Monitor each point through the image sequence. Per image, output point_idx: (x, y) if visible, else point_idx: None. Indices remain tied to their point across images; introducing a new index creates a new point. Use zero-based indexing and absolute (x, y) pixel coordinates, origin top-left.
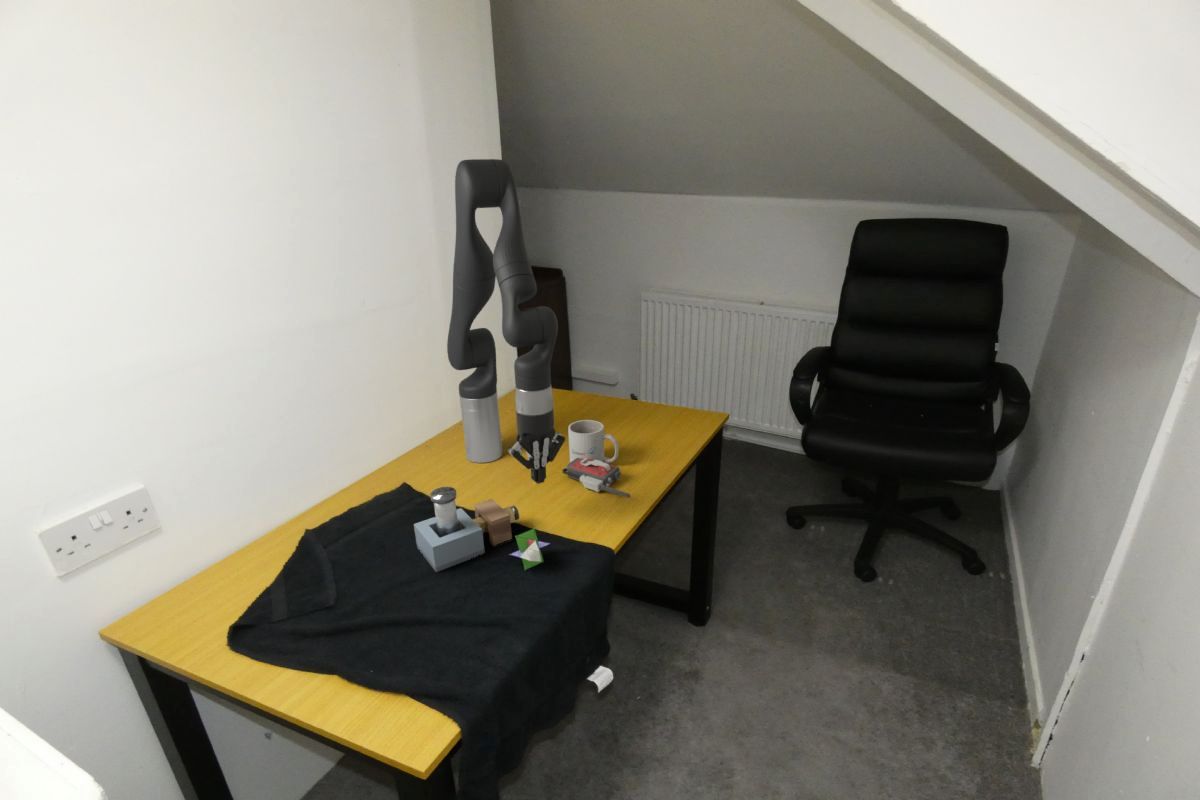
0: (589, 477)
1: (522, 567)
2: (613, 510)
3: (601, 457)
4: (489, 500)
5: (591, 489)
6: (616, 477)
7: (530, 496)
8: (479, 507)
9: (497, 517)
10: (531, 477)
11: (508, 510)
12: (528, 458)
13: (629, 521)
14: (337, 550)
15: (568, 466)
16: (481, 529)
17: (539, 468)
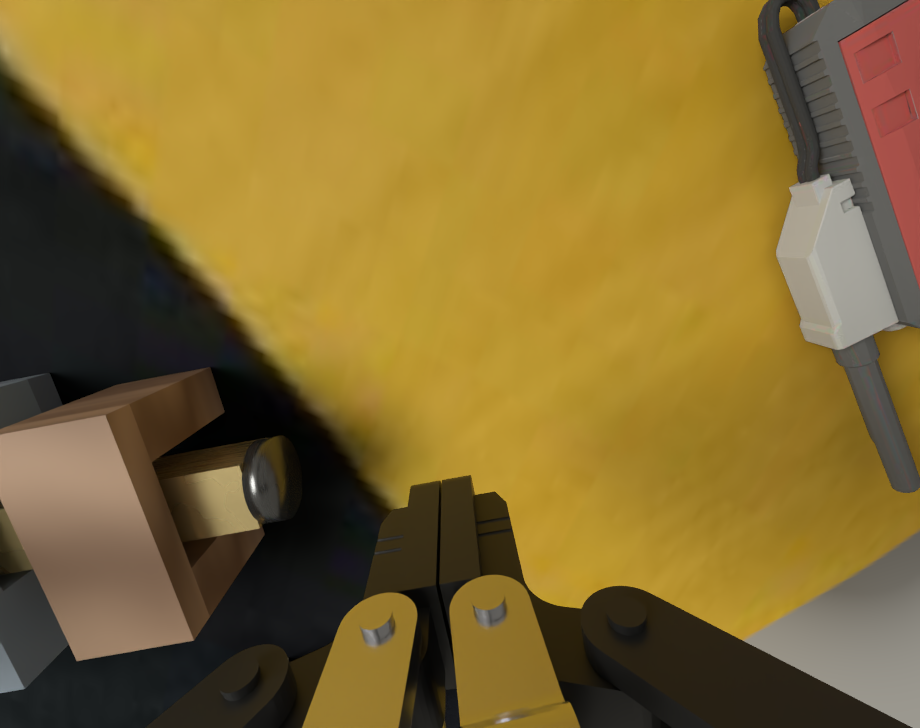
0: (859, 238)
1: None
2: (767, 507)
3: None
4: (84, 430)
5: (792, 296)
6: None
7: (462, 183)
8: (8, 488)
9: (116, 638)
10: (382, 531)
11: (226, 505)
12: (311, 716)
13: (771, 608)
14: None
15: (833, 22)
16: (21, 688)
17: (446, 685)
